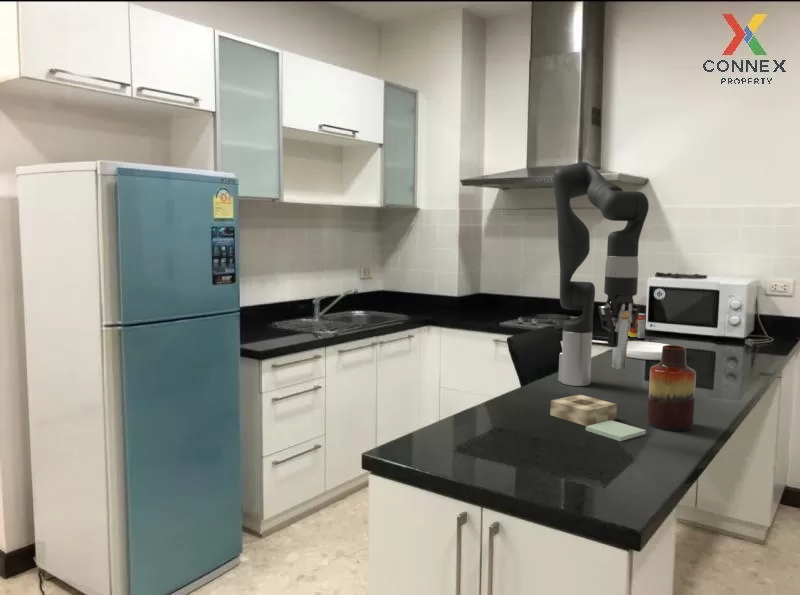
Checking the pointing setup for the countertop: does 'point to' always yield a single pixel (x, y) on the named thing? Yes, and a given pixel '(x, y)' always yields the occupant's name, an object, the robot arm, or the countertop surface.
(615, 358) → the flashlight
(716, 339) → the countertop surface
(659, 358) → the pan
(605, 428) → the pad
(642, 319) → the canned food
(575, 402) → the block
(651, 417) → the vase
